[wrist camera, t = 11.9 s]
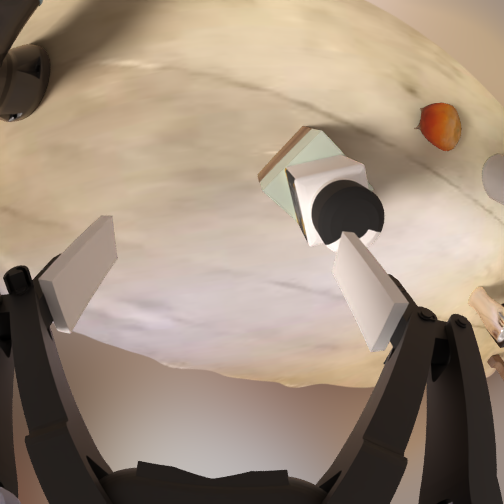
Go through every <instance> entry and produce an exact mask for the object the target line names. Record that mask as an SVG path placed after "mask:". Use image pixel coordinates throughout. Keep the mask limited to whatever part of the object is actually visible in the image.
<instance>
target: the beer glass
mask: <svg viewBox="0 0 504 504" xmlns="http://www.w3.org/2000/svg"><path fill="white" fill-rule="evenodd" d="M468 304H469V306H470V307H472V308H473V309H474V310H476V312H477V313H478V314H479V316H480V318H481V320H482V322H483V323H484V325H485V327H486V328H487V330H488V331H489V332H490V334H491V335H492V336H493V337H494V338H495V339H496V340H497V341H498V342H501V341H503V340H504V307H503V306H502V305H500V304H499V303H498V302H496V301H495V300H493V299H492V298H491V297H489V296H488V294H487V293H486V291H485V290H484V288H483V287H478V288H476V289H475V290H474V291H473V292H472V293H471V295H470V297H469V299H468Z"/></svg>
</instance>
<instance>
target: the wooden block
mask: <svg viewBox="0 0 504 504" xmlns="http://www.w3.org/2000/svg"><path fill="white" fill-rule="evenodd" d="M488 363H489V365H490V366H491V368H495V369H497V371H498V372H499V374H500V375H501V377H502V378H503V380H504V362H503V360H502V359H501V357H500V356H499V355H494V356H491V358H490V359H489V360H488Z"/></svg>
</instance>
